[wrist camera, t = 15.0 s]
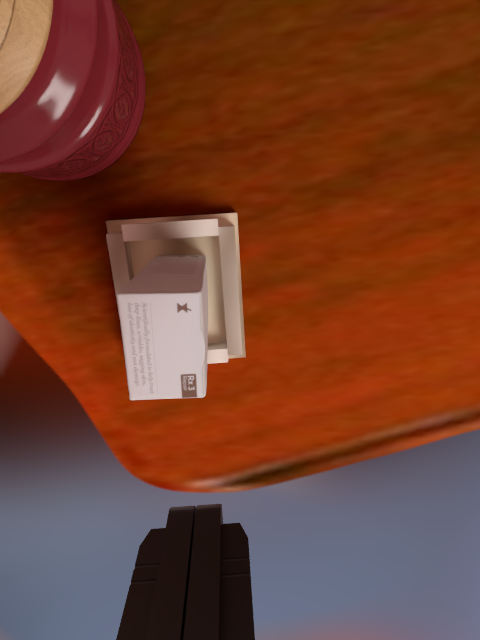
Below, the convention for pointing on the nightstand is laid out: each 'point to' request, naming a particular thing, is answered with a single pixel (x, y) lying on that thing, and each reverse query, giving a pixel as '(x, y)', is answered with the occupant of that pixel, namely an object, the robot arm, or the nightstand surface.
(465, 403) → the nightstand surface
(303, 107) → the nightstand surface
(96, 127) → the canister
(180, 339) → the skincare box
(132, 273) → the white shallow tray
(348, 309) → the nightstand surface
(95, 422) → the nightstand surface
